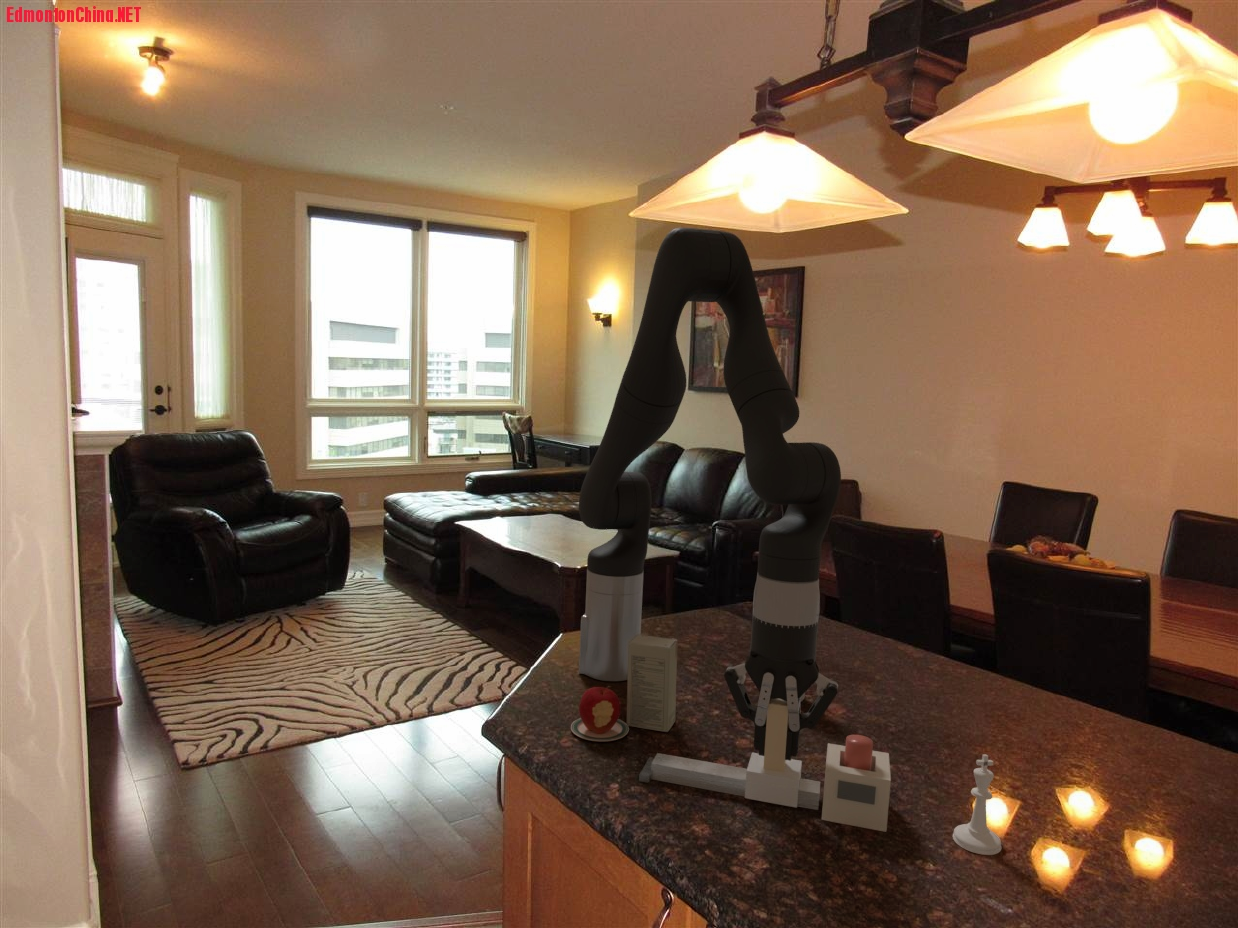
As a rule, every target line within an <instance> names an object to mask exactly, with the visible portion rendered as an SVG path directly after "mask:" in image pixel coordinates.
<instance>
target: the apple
mask: <svg viewBox="0 0 1238 928" xmlns="http://www.w3.org/2000/svg"><path fill="white" fill-rule="evenodd" d="M611 688H612V686H611V685H608V686H606V687H603V686H592V687H590V688H588V689H586V690H585V691H584V692H583V694H582V696H581V699H580V700H579V701H580V702H579V706H578V712H579V713H578V714H579V717H580V718H578V719H575V720H574V721H573V722H572V723H571V725H570V730H571V733H573V735H575V736H577V737H579V738H581V739H583V740H587V741H592V742H612V741H616V740H619V739H622V738H624V737H625V736H626V735H628V733H629V732H630V731H629V730H630V728H629V727H630V726H628V725H627V722H625V721H623V720H622V719H619V718H620V715H621V709H622V707H621V706H622V705H621V701H620V699H619V696H618V695H617V694H616V692H615V691H613V690H612V689H611Z"/></svg>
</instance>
